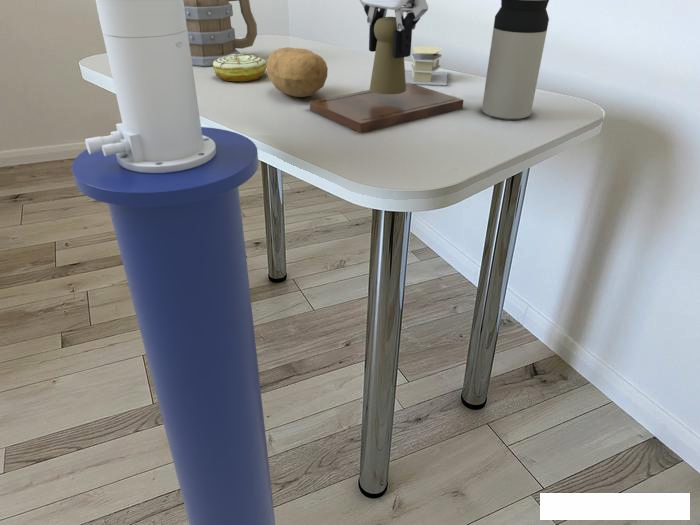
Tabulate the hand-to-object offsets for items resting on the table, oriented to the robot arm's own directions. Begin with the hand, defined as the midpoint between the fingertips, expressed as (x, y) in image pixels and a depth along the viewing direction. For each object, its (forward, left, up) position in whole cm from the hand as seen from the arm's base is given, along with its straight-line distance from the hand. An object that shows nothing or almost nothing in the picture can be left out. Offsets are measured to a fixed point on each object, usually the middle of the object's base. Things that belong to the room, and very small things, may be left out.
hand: (389, 52), depth 87 cm
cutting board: (0, 0, -9) cm, 9 cm away
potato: (-8, +16, -9) cm, 20 cm away
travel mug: (+15, -13, -9) cm, 22 cm away
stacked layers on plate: (+20, +12, -9) cm, 25 cm away
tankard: (-5, +51, -9) cm, 52 cm away
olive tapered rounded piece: (0, 0, -6) cm, 6 cm away
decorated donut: (-10, +34, -9) cm, 37 cm away
